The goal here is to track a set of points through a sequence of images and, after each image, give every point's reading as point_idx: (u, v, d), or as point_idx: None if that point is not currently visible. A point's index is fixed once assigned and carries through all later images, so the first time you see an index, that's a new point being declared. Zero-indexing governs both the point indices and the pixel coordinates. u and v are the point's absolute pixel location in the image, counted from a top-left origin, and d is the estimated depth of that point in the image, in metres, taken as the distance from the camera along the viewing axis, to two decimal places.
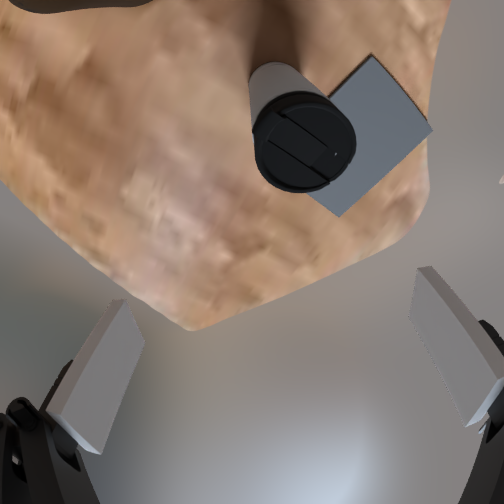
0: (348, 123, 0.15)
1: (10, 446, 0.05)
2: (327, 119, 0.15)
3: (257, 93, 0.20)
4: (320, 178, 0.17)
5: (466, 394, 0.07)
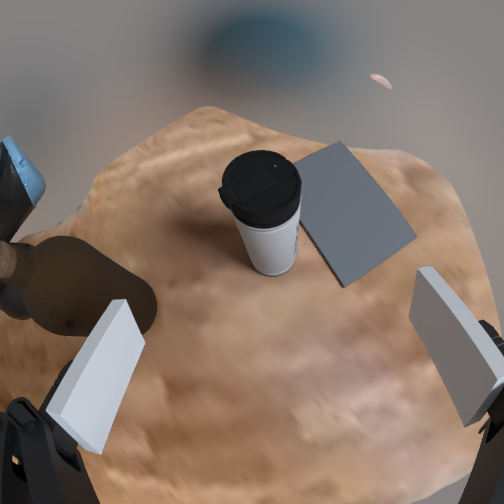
0: (250, 152, 0.23)
1: (10, 446, 0.05)
2: (244, 164, 0.23)
3: (241, 235, 0.29)
4: (291, 178, 0.22)
5: (466, 394, 0.07)
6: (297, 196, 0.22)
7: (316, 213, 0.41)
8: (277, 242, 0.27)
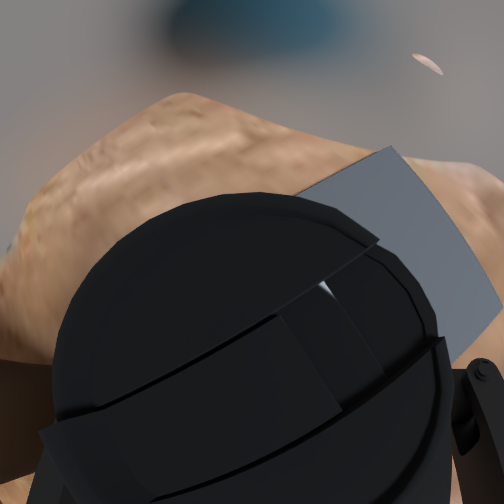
0: (193, 207, 0.04)
1: None
2: (160, 278, 0.04)
3: None
4: (409, 374, 0.03)
5: None
6: (425, 470, 0.03)
7: None
8: None
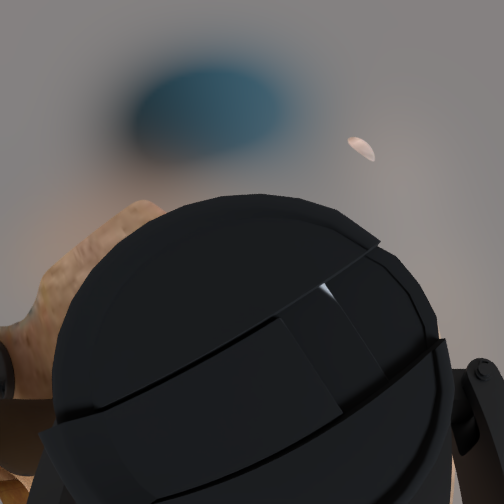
0: (193, 209, 0.04)
1: None
2: (160, 281, 0.04)
3: None
4: (411, 376, 0.03)
5: None
6: (425, 472, 0.03)
7: None
8: None
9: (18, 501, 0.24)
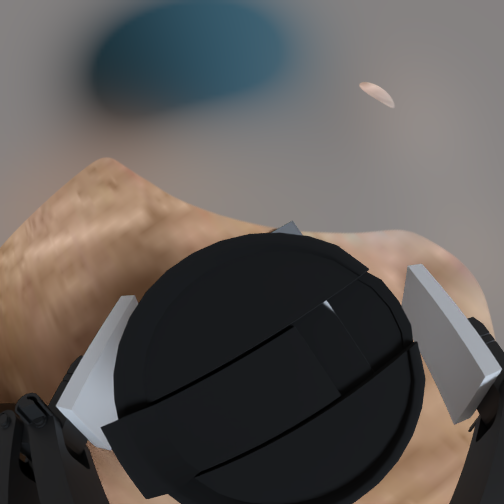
0: (228, 244, 0.06)
1: (17, 444, 0.05)
2: (203, 299, 0.06)
3: None
4: (390, 369, 0.05)
5: (455, 391, 0.07)
6: (405, 443, 0.04)
7: None
8: None
9: None
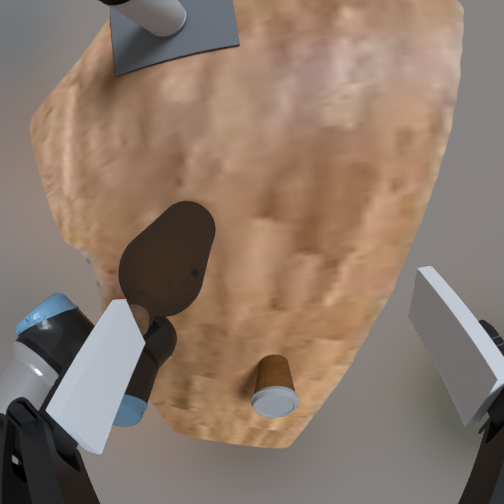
0: None
1: (10, 446, 0.05)
2: None
3: (143, 14, 0.23)
4: None
5: (466, 394, 0.07)
6: None
7: (166, 45, 0.34)
8: None
9: (280, 369, 0.56)
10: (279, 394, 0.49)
